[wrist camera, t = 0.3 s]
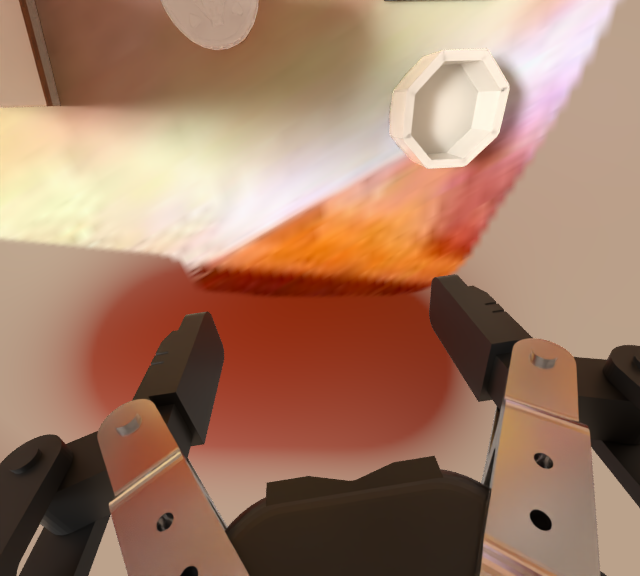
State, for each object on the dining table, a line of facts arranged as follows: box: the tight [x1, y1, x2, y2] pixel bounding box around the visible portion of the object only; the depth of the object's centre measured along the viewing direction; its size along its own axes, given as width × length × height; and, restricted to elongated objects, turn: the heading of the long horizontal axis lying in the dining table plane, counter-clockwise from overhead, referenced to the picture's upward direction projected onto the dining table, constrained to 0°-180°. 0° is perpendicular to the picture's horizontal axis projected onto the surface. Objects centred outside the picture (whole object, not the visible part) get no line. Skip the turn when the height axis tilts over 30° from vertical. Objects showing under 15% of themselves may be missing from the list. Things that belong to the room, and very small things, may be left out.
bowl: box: [389, 48, 510, 169], centre depth 31 cm, size 10×10×5 cm
